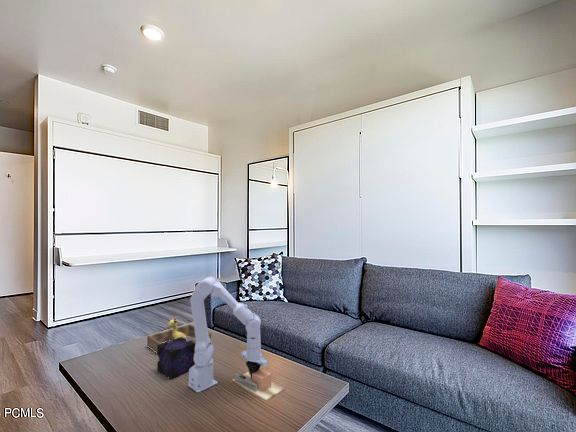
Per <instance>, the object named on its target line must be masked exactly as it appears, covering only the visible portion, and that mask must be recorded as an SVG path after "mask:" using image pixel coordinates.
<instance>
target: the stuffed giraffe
mask: <svg viewBox="0 0 576 432" xmlns="http://www.w3.org/2000/svg"><path fill="white" fill-rule="evenodd" d="M177 318H178V317H176V316H174V318H173V319H170V320H169V321H168V323H167V325H166V326H167V329H168V330H171V328H172V329H173V330H172V338H173V340H174V339H177V338H180V337H183V338H185V339H186V341H188V340H191V339H194V338H195V337H192V336H190V337H187V336H186V335H185V334H184V333H181V332H178V331H177V328H178V327H179V326H178V319H177ZM173 340H170V341H166V342H167V343H169V342H172V341H173Z"/></svg>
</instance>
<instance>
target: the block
mask: <svg viewBox="0 0 576 432" xmlns="http://www.w3.org/2000/svg"><path fill="white" fill-rule="evenodd" d="M252 382H254V383H256V384H257V389H259V390H260V391H264V390H266V389H267V388H269V387H271V382H272V373H270V372H268V371H266V370H264V369H262V368H261V369H260V368H259V370H258V371H256V372H254V373H252Z"/></svg>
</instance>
